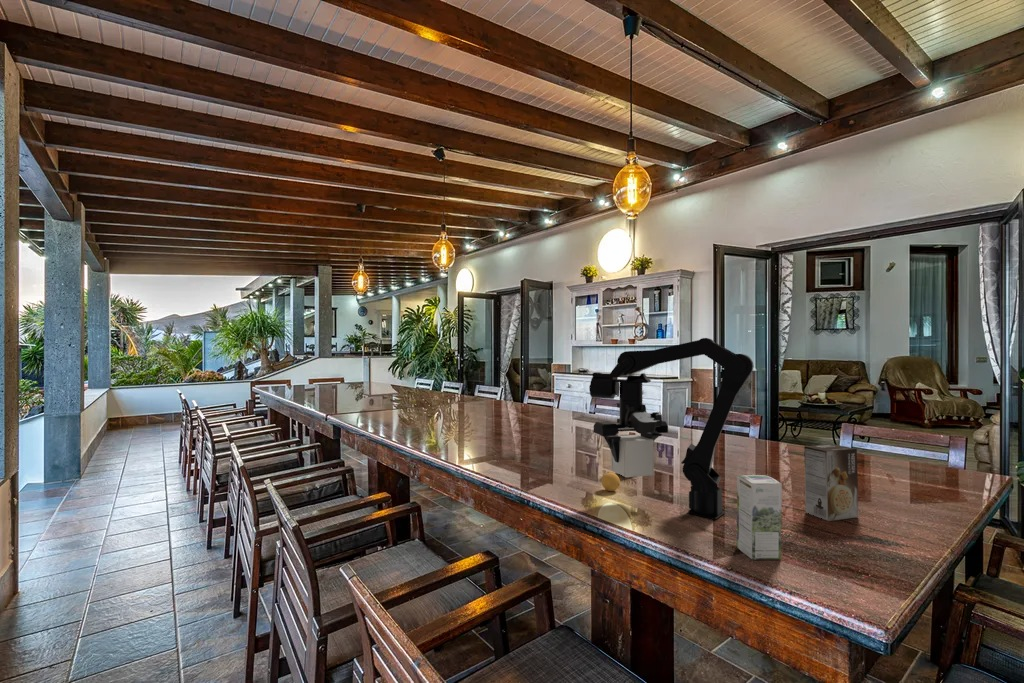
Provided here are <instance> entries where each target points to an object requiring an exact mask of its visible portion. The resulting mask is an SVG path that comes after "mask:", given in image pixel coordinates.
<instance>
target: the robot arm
mask: <svg viewBox="0 0 1024 683" xmlns="http://www.w3.org/2000/svg"><path fill="white" fill-rule="evenodd" d="M702 355H703V356H705V357H707V358H709V359H711V360H712V361H714V362H715V363H716V364H718V365H720V366H721V367H723V372H722V378H721V384H720V389H719V392H718V394H717V397H716V399H715V401H714V404H713V407H712V409H711V411H710V413H709V416H708V418H707V421H706V424H705V426H704V429H703V431H702V433H701V435H700V438H699V441H698V442H697V444H696V445H695V444H693V443H690V445H688V447H687V449H686V452H685V453H686V454H685V457H684V458H683V459H682V461H681V464H683V466H682V473H683V475H684V477H685V478H686V479H687V480H688V481H689V482H690V485H691V486H690V491H688V508H689V510H688V511H687V513H688V514H691V515H693V516H698V517H702V518H706V519H711V520H717V519H718V518H719V517H721V516H723V515H724V514H725V513H726V511H725V510H723V488H722V487H718V486H719V483H720V481H721V480H722V476H721V474H720V473H718V472H717V470H715V469H714V467H713V463H714V462H713V461H714V458H715V450H716V445H717V444H718V441H719V438H720V436H721V433H722V431H723V428H724V427H725V425H726V424H725V423H726V421H727V419H728V417H729V414H730V412H731V409H732V407H733V405H734V402H735V400H736V397H737V395H738V394H739V392H740V390H741V388H742V387H743V386H744V384H745V383H746V381H747V380H748V378H749V377H750V375H751V374H752V372H753V371H754V361H753V360H752V358H751V357H750V356H749V355H747V354H744V353H735V352H733V351H731V350H729V349H728V348H726V347H724V346H723V345H720V344H719V343H717V342H715V341H714V340H713V339H712V338H709V337H702V338H700V339H698V340H694V341H689V342H684V343H679V344H675V345H671V346H665V347H661V348H657V349H656V348H655V349H649V350H648V349H647V350H627V351H623V352H621V353H620V354H619V356H618V357H617V362H616V363H617V364H616V365H615V366H614V367H613V369H612V371H611V372H610V373H607V372H606V373H605V372H604V373H603V372H600V371H599V372H598V371H597V372H593V373H592V376H591V377H592V378H591V379H590V383H589V395H590V398H592V399H604V400H605V399H608V400H614V399H615V397H616V396H619V402H617V403H616V407H617V408H619V418H617V419H616V423H614V422H611V421H608V420H607V421H604V420H603V421H595V423H594V424H593V433H594V434H598V435H599V436H600V437H603V438H604V440H605V441H606V443H607V446H608V448H609V449H610V453H611V452H612V455H613V457H614V460H615V462H619V440H620V438H621V437H620V435H618V434H619V432H632V431H633V432H636V433H637V434H639V435H640V436H642V437H646V438H649V439H653V443H654V442H655V440H657V439H658V438H659V437H662V436H663V434H665V433H666V434H667V433H669V425H668V423H667V421H665V420H663V415H662V413H660V411H656V412H655V411H654V412H650V413H648V412H647V407H646V404H643V384H647V383H650V382H651V379H650V378H649V377H648V376H647V375H646V373H644V372H643V373H641V374H640V375H631V374H636V373H640V372H641V371H644V370H647V369H650V368H652V367H655V366H657V365H659V364H664V363H669V362H673V361H679V360H684V359H688V358H689V359H690V358H695V357H698V356H702ZM629 374H630V375H629ZM627 375H628V376H627ZM626 376H627V377H626ZM621 377H626V379H623V378H622V379H619V378H621ZM662 433H663V434H662Z"/></svg>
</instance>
